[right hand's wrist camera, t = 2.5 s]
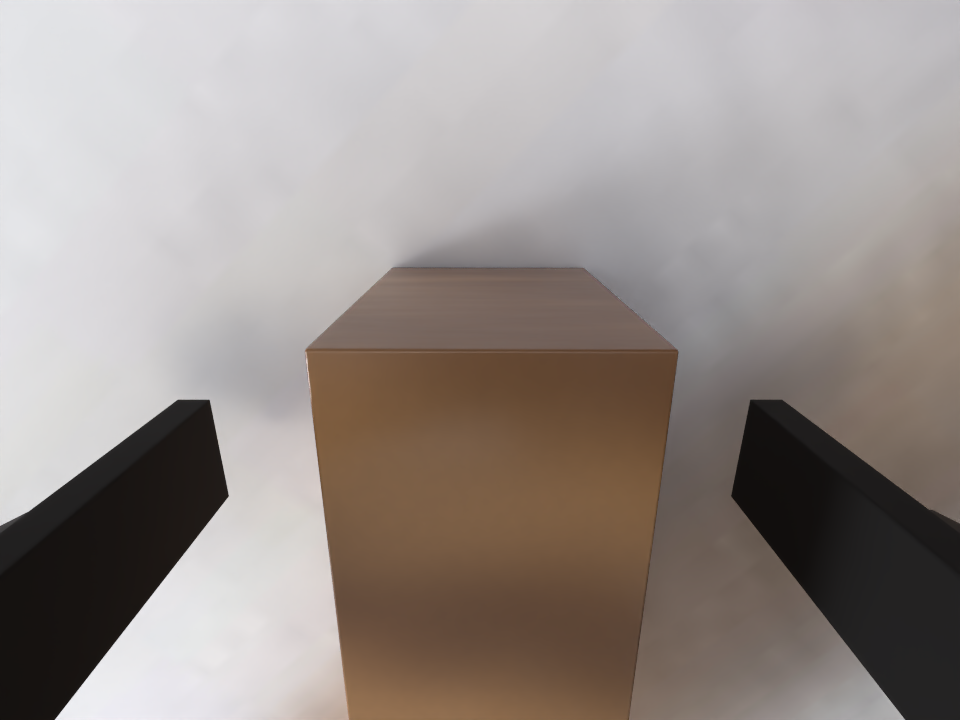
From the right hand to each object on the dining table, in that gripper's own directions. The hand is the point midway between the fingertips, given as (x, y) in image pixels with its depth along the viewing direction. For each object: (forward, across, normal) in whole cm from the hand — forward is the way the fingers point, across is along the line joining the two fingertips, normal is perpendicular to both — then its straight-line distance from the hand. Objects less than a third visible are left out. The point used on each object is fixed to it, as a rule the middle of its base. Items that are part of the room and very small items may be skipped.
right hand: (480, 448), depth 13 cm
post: (+3, 0, -25) cm, 26 cm away
